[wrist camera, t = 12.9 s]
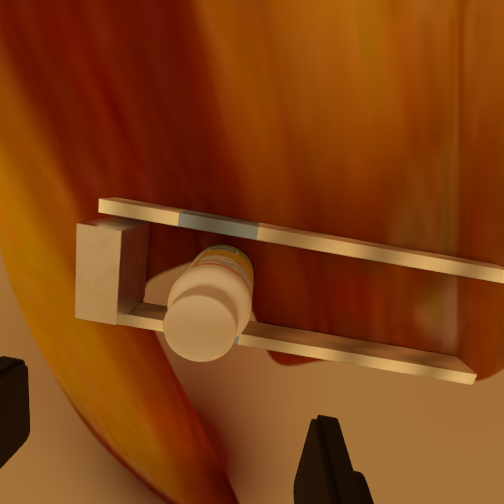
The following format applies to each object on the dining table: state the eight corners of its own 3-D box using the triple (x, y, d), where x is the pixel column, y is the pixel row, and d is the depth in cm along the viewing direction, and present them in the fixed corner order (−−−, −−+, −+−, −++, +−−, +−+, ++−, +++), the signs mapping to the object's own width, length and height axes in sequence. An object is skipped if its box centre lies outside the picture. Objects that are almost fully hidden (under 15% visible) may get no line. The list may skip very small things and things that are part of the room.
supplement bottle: (216, 312, 25) (190, 390, 16) (180, 265, 24) (128, 317, 15) (266, 281, 24) (269, 343, 15) (230, 231, 23) (209, 263, 14)
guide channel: (493, 263, 23) (555, 284, 18) (452, 365, 25) (497, 408, 21) (116, 197, 23) (77, 200, 18) (110, 306, 25) (74, 336, 20)
